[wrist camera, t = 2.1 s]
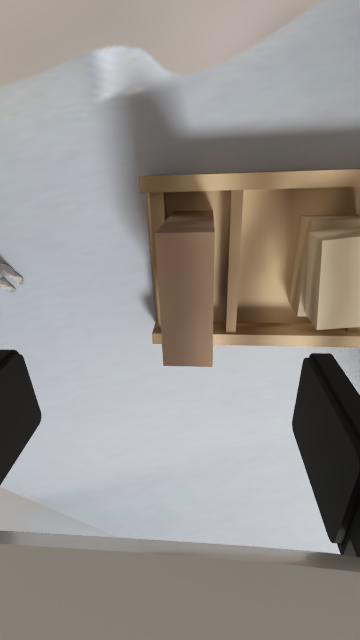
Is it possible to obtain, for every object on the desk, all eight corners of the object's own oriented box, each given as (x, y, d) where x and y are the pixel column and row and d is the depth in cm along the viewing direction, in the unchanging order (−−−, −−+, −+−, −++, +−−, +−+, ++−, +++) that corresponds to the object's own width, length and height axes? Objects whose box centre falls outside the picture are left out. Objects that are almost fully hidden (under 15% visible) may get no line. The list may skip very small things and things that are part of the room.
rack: (383, 167, 21) (408, 167, 19) (345, 329, 27) (360, 347, 25) (147, 175, 23) (139, 176, 20) (158, 327, 29) (152, 343, 26)
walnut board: (213, 210, 23) (214, 232, 15) (211, 307, 26) (212, 366, 18) (173, 211, 23) (154, 233, 15) (177, 306, 27) (163, 365, 19)
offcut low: (356, 214, 22) (375, 219, 20) (337, 302, 25) (352, 316, 23) (300, 215, 23) (312, 221, 20) (288, 302, 26) (297, 316, 23)
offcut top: (365, 225, 20) (388, 233, 17) (355, 308, 22) (373, 325, 20) (308, 232, 20) (322, 240, 18) (305, 312, 23) (316, 330, 20)
